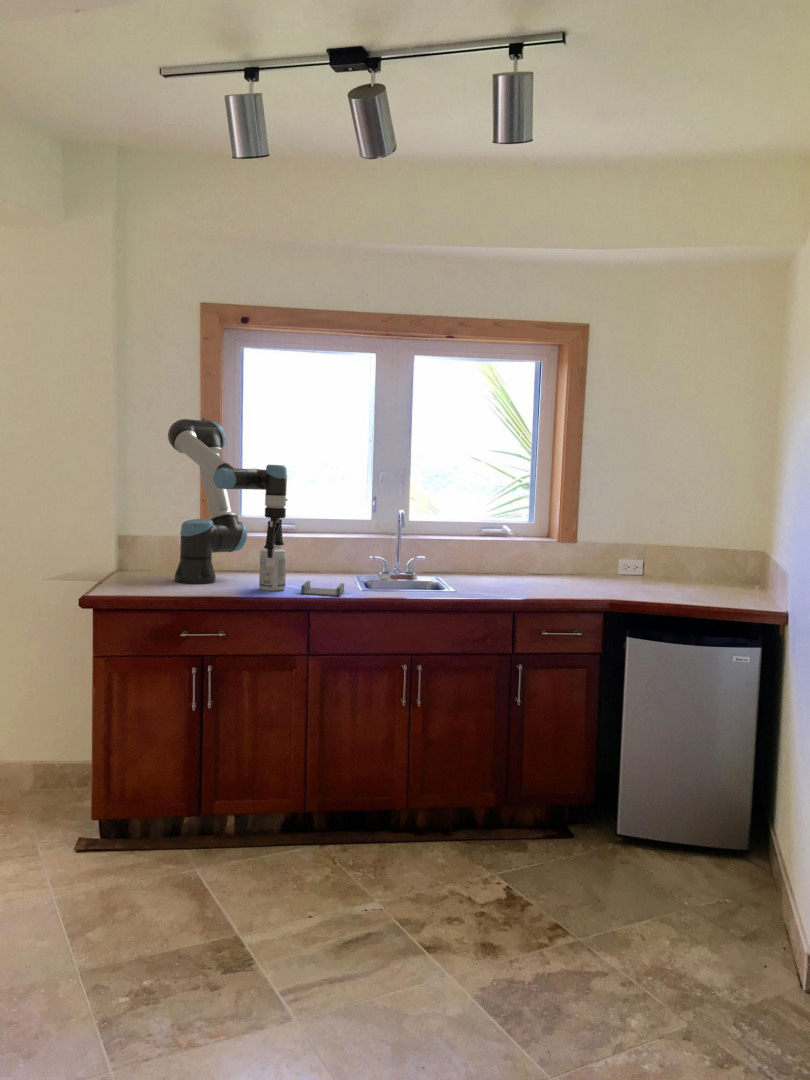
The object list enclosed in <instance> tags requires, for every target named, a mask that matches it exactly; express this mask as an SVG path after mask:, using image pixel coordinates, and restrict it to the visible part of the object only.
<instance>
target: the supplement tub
mask: <svg viewBox="0 0 810 1080" xmlns="http://www.w3.org/2000/svg"><path fill="white" fill-rule="evenodd" d="M259 552H260V553H259V575H258V576H259V582H258V587H259V589H260V590H262V591H267V592H279V591H280V592H281V591H283V590H285V589H286V576H287V575H286V574H287V573H286V572H287V564H286V563H287V551H286V549H283V548H281V549H274V567H266V552H267V549H265V548H263V549H262V548H261V549H260V551H259Z"/></svg>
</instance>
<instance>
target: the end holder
mask: <svg viewBox="0 0 810 1080" xmlns="http://www.w3.org/2000/svg"><path fill="white" fill-rule="evenodd" d="M300 588H301V590H300V595H306V596H307V595H308V596H324V597H325V596H326V597H339V596H340V595H342V594H343V593H344V592H345V583H340V584H339V585H338V586H336V588H323V587H321V588H320V587H311V580H306V581H305V583H303V584H302V585H301V587H300ZM340 597H341V596H340ZM340 597H339V598H340Z"/></svg>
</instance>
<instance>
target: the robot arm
mask: <svg viewBox="0 0 810 1080" xmlns="http://www.w3.org/2000/svg"><path fill="white" fill-rule="evenodd" d="M167 439H168V442H169V445H170V446H171V447H172V448H173V449H174V450H175V451H176V452H177V453H180V454H185V455H186V456H187V457H188V458H190V459H191V460H192V461H193V462H194V463H195V464H197V466H198V467H199V471H200V476H201V480H202V485H203V488H204V489H203V490H204V493H205V499H206V501H207V502H206V503H207V507H208V512H209V518H194V519H193V518H192V519H188V520H185V521H183V522H182V523H181V527H180V534H179V535H180V549H179V550H180V551H179V553H180V555H179V556H180V557H179V559H180V560H179V562H178V565H177V567H176V570H175V574H174V582H176V583H183V584H191V585H192V584H194V585H195V584H196V585H197V584H200V585H201V584H213V583H215V582H216V579H217V577H216V572H215V568H214V566H213V563H212V555H213V554H214V553H216V554H217V553H233V552H238V551H240V550H242V549H243V548H244V546H245V544H246V542H247V539H248V529H247V526H246V525H245V524H244V523H243V522H242V521H239V518H238V515H237V514H236V512H233V510H232V509H233V508H232V504H231V501H230V497H229V492H228V490H258V491H259V490H263V491H264V490H265V494H264V495H265V496H264V506H265V508H264V517H265V518H268V519H270V520H268V521H267V531H266V537H265V538H266V540H265V545H263V547H264V548H263V549H267V552H266V567H274V549H282V546H284V544H285V543H284V541H283V526H282V525H283V520H282V519H285V518H286V517H287V515H286V512H287V509H286V505H287V501H288V497H287V486H288V485H287V483H288V482H287V481H288V473H287V470H288V469H287V466H286V465H284V464H267V465H266V468H265V469H259V468H237V467H234V466H232V465H231V464H230V463H229V462H227V461H226V460H225V459H224V458H222V457H221V454H222V452H223V449H224V447H225V445H226V433H225V430H224V428H223V426H222V425H221V424H220V423H218V422H216V421H211V420H201V419H199V420H198V419H189V418H183V419H182V418H181V419H178V420H176V421H175V422H173V423H172V425H170V427H169V429H168V432H167ZM212 553H213V554H212Z"/></svg>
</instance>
